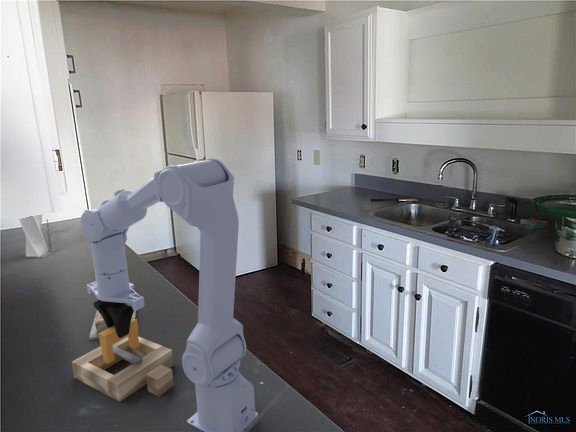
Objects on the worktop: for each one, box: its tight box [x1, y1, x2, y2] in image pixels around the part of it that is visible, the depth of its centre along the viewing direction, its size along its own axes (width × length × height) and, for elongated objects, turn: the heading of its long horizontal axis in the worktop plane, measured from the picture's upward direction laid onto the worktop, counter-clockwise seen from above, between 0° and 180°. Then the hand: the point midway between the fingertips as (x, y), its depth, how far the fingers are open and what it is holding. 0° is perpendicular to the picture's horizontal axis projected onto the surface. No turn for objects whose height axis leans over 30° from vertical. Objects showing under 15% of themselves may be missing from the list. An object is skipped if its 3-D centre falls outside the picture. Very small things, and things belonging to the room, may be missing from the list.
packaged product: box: [88, 309, 137, 341], centre depth 108 cm, size 18×5×10 cm
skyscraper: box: [18, 213, 57, 259], centre depth 153 cm, size 8×8×28 cm
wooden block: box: [98, 317, 140, 364], centre depth 85 cm, size 2×7×6 cm, turn 148°
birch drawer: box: [71, 335, 175, 403], centre depth 86 cm, size 14×13×5 cm
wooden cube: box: [146, 365, 174, 397], centre depth 81 cm, size 3×4×4 cm
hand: (119, 333), depth 85 cm, fingers closed on wooden block, 2 cm apart
